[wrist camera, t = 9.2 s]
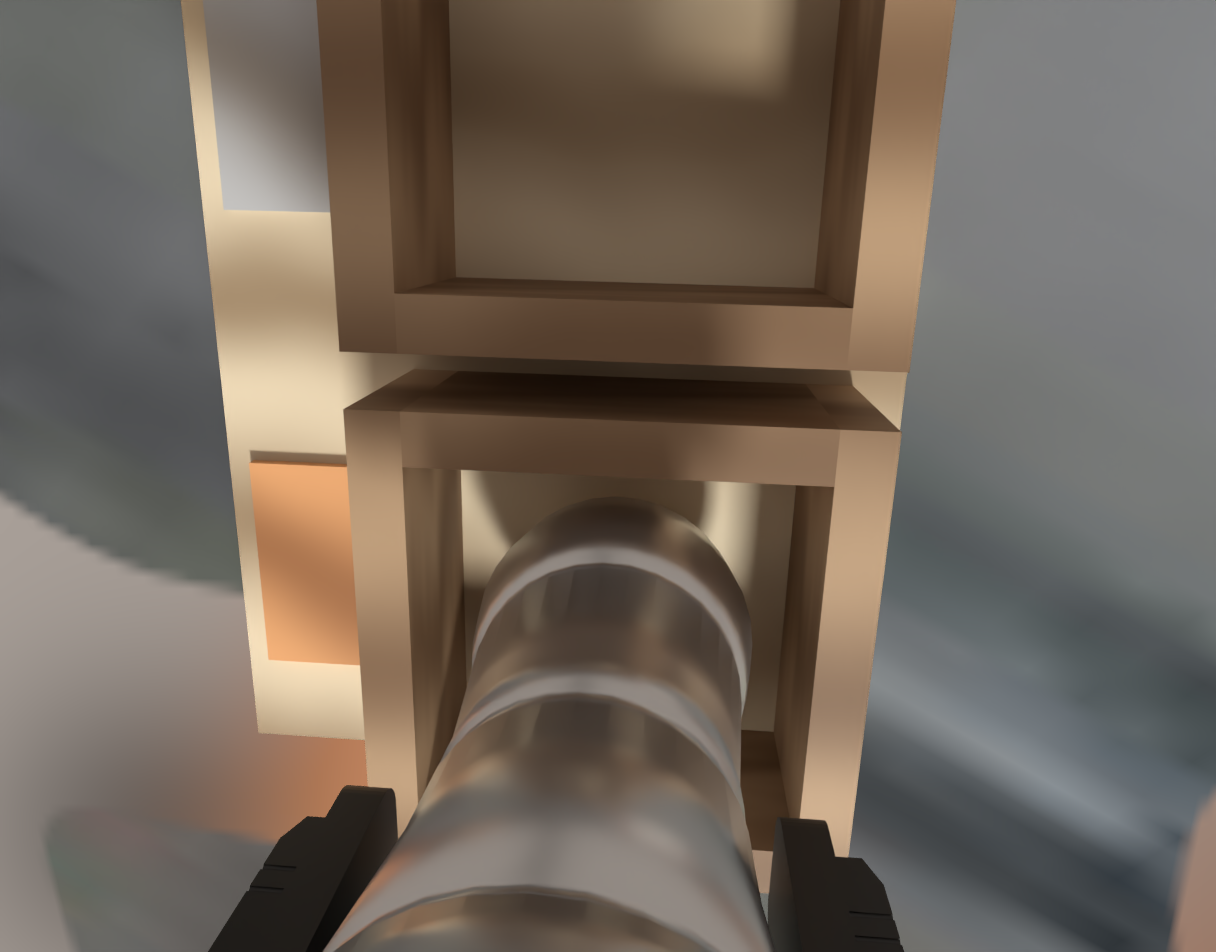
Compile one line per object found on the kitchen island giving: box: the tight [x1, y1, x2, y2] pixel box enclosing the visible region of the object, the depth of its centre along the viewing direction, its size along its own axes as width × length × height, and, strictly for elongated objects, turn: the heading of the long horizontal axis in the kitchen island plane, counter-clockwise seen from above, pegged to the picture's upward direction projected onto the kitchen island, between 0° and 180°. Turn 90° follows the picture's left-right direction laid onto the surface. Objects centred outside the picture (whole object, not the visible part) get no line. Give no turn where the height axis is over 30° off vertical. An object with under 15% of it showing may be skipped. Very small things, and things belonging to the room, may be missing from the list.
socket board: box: [181, 0, 956, 893], centre depth 20 cm, size 24×18×6 cm
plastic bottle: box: [323, 496, 776, 952], centre depth 13 cm, size 6×7×20 cm
